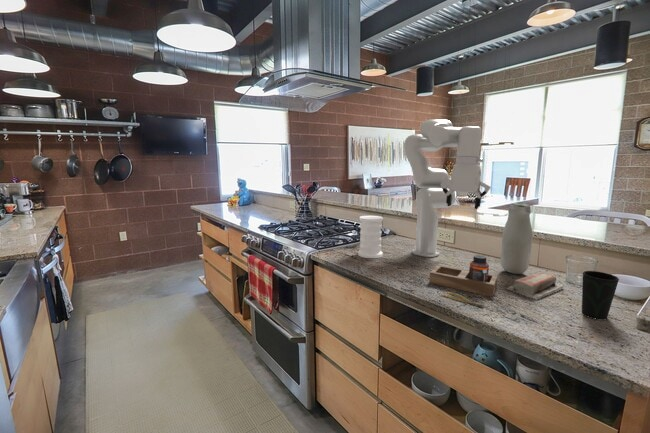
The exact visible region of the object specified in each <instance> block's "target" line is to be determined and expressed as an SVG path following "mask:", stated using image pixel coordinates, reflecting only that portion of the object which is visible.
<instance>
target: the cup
mask: <svg viewBox="0 0 650 433" xmlns="http://www.w3.org/2000/svg"><path fill="white" fill-rule="evenodd" d="M619 281H620V279H619V277H618V276H616V275H613V274H610V273H608V272H607V273H606V272H602V271H596V270H595V271H594V270H586V271H583V272H582V290H581V291H582V294H581V313H583V314H584V315H583V314H582V315H583V316H585V315H586V316H585V317H587V316H589V317H588V318H590V317H592V318H591V319H593V318H596V319H595V320H597V319H606V320H607V319H608V316H609V313H610V309H611V306H612V302H613V300H614V296H615V293H616V291H617V287H618V284H619Z"/></svg>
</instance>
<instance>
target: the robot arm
mask: <svg viewBox="0 0 650 433" xmlns="http://www.w3.org/2000/svg"><path fill="white" fill-rule="evenodd" d="M418 130H419V133H417V134H411V135H408V136H407V137H406V138H405V140H404V145H403V148H404V150H403V151H404V154H405V157H406V159H407V162H409V164H410V167H411V172H412V175H413V180H414V182H415V183H414V184H415V186H416V187H417V188H419V190H417V192H416V194H415V201H416V213H417V214H416V231H415V248H413V249H411V253H412V254H413V255H415V256H418V257H425V258H434V257H438V256H440V254H441V253H440V251H439V250H438V249H437V244H438V230H439V229H438V228H439V216H438V214H437V212H436V211H435V209H439V208H440V209H445V208H446V209H447V208H448V209H449V208H451V207H452V206H454V204H455V202H456V195H455V192H458V193H471V194H474V195H475V196H476V198H475V200H474V201H475V202H474V209H475V210H477V209H478V208H480V207H481V202H482V198H483V197H484V196H485V195H487V193H488V192H489V191H490V189H491V188H492V187H491V186H490V185H488V184H486V183H485V182H483V181H482V168H481V167H482V166H481V165H480V163H483V162H484V158H481V157H480V151H481V150H480V149H481V142H482V132H483V131H482V128H481V127H480V126H472V125H471V126H468V125H467V126H461V127H460V126H458V127H457V126H454V125H453V123H452V122H451V121H450V120H448V119H433V118H432V119H427V120H424V121H423V122H421V124H420V126H419V129H418ZM442 148H457V150H456V160H455V164H453V166H452V170H451V175H449V173H448V172H447V170H445V168H444V169H443V168H433V167H431V166H430V163H429V160H428V159H427V157H426V156H425V155H424V154H422V153H436V152H438V151H440V150H441V149H442ZM421 152H422V153H421ZM481 187H482V188H484V190H483V191H482V192H480V190H481Z"/></svg>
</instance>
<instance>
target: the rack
mask: <svg viewBox="0 0 650 433" xmlns="http://www.w3.org/2000/svg"><path fill="white" fill-rule="evenodd" d="M428 280H429V281H428V283H429V284H432V285H435V286H436V285H437V286H441V287H446V288H450V289H455V290H460V291H465V292H470V293H473V294H478V295H482V296H488V297H492V298H493V296H494V294H495V293H496V289H497V287H498V275H497V274H491V273H488V281H487V282H484V281H479V280H473V279H469V269H463V268H457V267H451V266H446V265H440V264H437V265H436V266H435V267H434V268H433V269H432V270H431V271H430V272H429V279H428Z"/></svg>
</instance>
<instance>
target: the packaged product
mask: <svg viewBox="0 0 650 433" xmlns="http://www.w3.org/2000/svg"><path fill="white" fill-rule="evenodd" d="M556 281H557V277H556V276H555V275H552V274H549V273H534V274H531V275H527V276H524V277H521V278H517V279H515V280H513V285H510V286H508V287H506V290H507V291H509V290H510V292H512V291H513V293H515V292H516V294H518V293H519V294H518V295H521V294H522V296H524V295H525V296H524V297H527V298H529V299H532V298H533V300H535V299H536V301H538V300H540V299H542V297H543V298H546V297H548V296H550V294H551V295H552V293H553V294H555V293H554V292H556V293H558V292H559V290H560V291H562V290H564V288H565V286H564V285H562V284H558V283H557V282H556ZM561 289H562V290H561ZM557 291H558V292H557ZM547 295H548V296H547ZM545 296H546V297H545Z"/></svg>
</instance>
